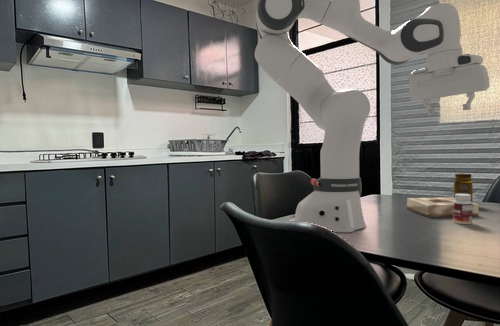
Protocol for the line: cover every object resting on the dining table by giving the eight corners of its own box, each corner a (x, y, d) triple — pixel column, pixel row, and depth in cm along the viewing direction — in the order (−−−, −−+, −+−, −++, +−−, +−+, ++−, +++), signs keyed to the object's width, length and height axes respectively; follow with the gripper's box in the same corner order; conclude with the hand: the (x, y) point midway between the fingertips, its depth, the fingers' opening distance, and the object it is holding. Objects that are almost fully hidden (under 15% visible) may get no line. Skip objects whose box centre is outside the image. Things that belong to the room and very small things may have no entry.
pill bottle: (450, 221, 105) (450, 193, 105) (466, 220, 105) (466, 193, 104) (459, 224, 100) (459, 195, 100) (475, 224, 100) (475, 195, 100)
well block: (427, 217, 112) (427, 205, 112) (407, 208, 128) (406, 198, 128) (478, 216, 111) (478, 204, 111) (451, 207, 127) (451, 197, 127)
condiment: (476, 205, 131) (476, 173, 131) (470, 208, 125) (469, 175, 125) (454, 203, 136) (454, 172, 136) (447, 206, 130) (447, 174, 130)
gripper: (403, 71, 105) (407, 117, 106) (482, 54, 90) (486, 107, 91) (412, 72, 109) (416, 116, 110) (489, 55, 94) (492, 106, 95)
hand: (448, 112), depth 100 cm, fingers open, 8 cm apart
